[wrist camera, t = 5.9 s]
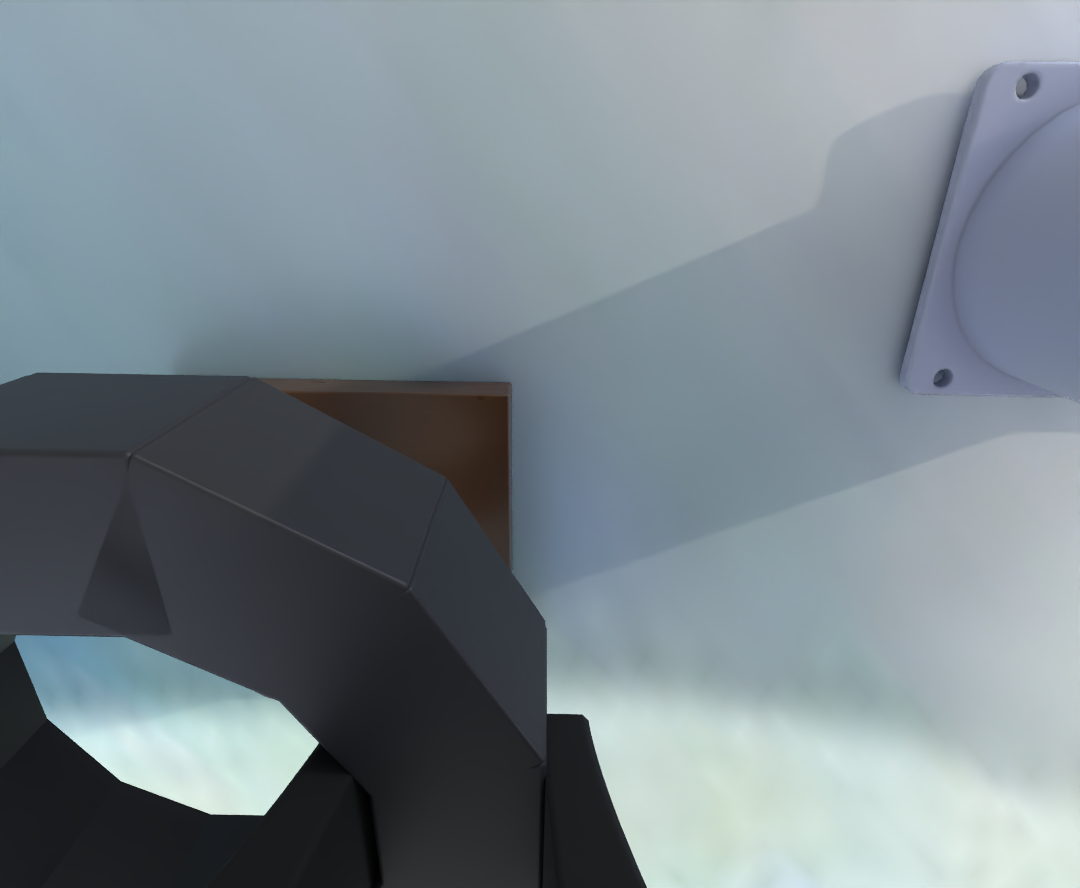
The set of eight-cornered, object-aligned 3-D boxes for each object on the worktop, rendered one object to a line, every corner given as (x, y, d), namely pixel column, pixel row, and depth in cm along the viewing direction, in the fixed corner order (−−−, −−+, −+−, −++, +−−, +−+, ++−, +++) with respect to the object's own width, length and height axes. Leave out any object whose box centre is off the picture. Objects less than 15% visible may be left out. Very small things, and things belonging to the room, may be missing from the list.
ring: (552, 380, 9) (555, 460, 6) (540, 891, 13) (538, 1062, 11) (-261, 366, 9) (-607, 440, 6) (9, 880, 13) (-121, 1048, 11)
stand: (511, 382, 17) (494, 475, 12) (513, 651, 21) (500, 821, 15) (168, 376, 17) (-18, 467, 12) (233, 646, 21) (118, 813, 16)
